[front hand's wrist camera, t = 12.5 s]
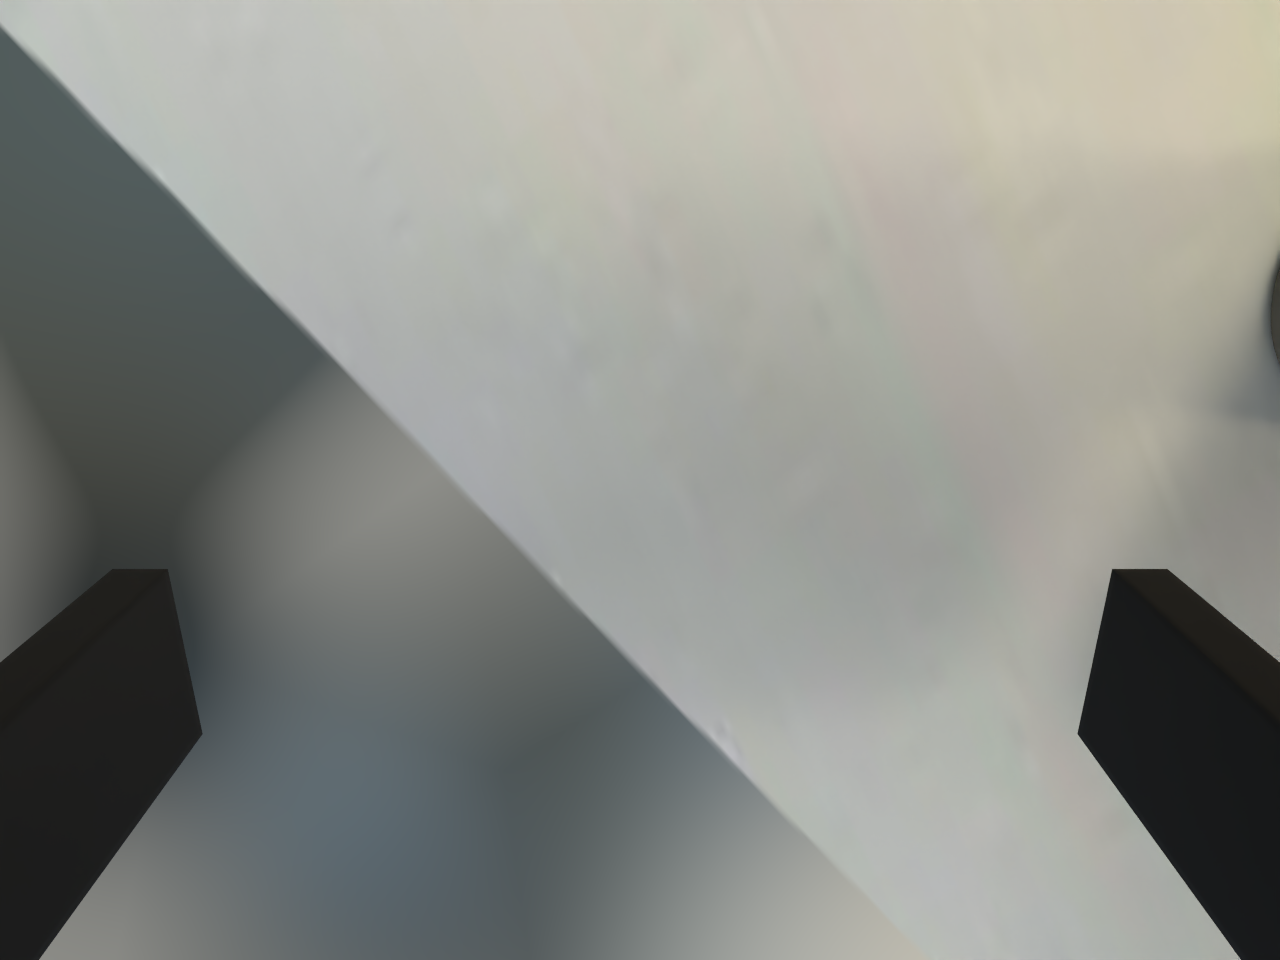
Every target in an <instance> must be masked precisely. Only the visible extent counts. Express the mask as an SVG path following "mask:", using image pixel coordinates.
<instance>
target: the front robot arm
mask: <svg viewBox="0 0 1280 960" xmlns="http://www.w3.org/2000/svg"><path fill="white" fill-rule="evenodd" d="M1271 328H1272V337H1273V343H1274V348H1275V352H1276V355H1277V358H1278V361H1279V363H1280V269H1279V272H1278V275H1277V279H1276V283H1275V288H1274V293H1273V300H1272V309H1271ZM201 735H202V730H201V725H200V720H199V715H198V711H197V706H196V701H195V696H194V692H193V687H192V682H191V677H190V673H189V668H188V663H187V658H186V654H185V649H184V644H183V640H182V635H181V630H180V625H179V621H178V616H177V611H176V607H175V602H174V597H173V592H172V587H171V583H170V578H169V573H168V569H112V570H111V571H110V572H108V573H107V574H106V575H105V576H104V577H103V578H101V579H100V580H99V581H98V582H96V583H95V584H94V585H93V586H92V587H90V588H89V589H88V590H87V591H86V592H84V593H83V594H82V595H81V596H80V597H78V598H77V599H76V600H75V601H74V602H72V603H71V604H70V605H69V606H68V607H66V608H65V609H64V610H63V611H62V612H60V613H59V614H58V615H57V616H56V617H54V618H53V619H52V620H51V621H50V622H48V623H47V624H46V625H45V626H44V627H42V628H41V629H40V630H39V631H38V632H36V633H35V634H34V635H33V636H32V637H30V638H29V639H28V640H27V641H26V642H24V643H23V644H22V645H21V646H20V647H18V648H17V649H16V650H15V651H14V652H12V653H11V654H10V655H9V656H8V657H6V658H5V659H4V660H3V661H2V662H0V960H39V959H40V957H41V956H42V955H43V953H44V952H45V951H46V949H47V948H48V946H49V945H50V944H51V942H52V941H53V940H54V938H55V937H56V935H57V934H58V933H59V931H60V930H61V928H62V927H63V926H64V924H65V923H66V921H67V920H68V919H69V917H70V916H71V915H72V913H73V912H74V911H75V909H76V908H77V906H78V905H79V904H80V902H81V901H82V900H83V898H84V897H85V895H86V894H87V893H88V891H89V890H90V888H91V887H92V886H93V884H94V883H95V882H96V880H97V879H98V877H99V876H100V875H101V873H102V872H103V871H104V869H105V868H106V866H107V865H108V864H109V862H110V861H111V859H112V858H113V857H114V855H115V854H116V853H117V851H118V850H119V848H120V847H121V846H122V844H123V843H124V842H125V840H126V839H127V837H128V836H129V835H130V833H131V832H132V830H133V829H134V828H135V826H136V825H137V824H138V822H139V821H140V819H141V818H142V817H143V815H144V814H145V813H146V811H147V810H148V808H149V807H150V806H151V804H152V803H153V801H154V800H155V799H156V797H157V796H158V795H159V793H160V792H161V790H162V789H163V788H164V786H165V785H166V784H167V782H168V781H169V779H170V778H171V777H172V775H173V774H174V773H175V771H176V770H177V768H178V767H179V766H180V764H181V763H182V761H183V760H184V759H185V757H186V756H187V755H188V753H189V752H190V750H191V749H192V748H193V746H194V745H195V744H196V742H197V741H198V739H199V738H200V737H201ZM1078 735H1079V737H1080V738H1081V739H1082V741H1083V742H1084V744H1085V745H1086V746H1087V748H1088V749H1089V750H1090V752H1091V753H1092V755H1093V756H1094V757H1095V759H1096V760H1097V761H1098V763H1099V764H1100V766H1101V767H1102V768H1103V770H1104V771H1105V773H1106V774H1107V775H1108V777H1109V778H1110V779H1111V781H1112V782H1113V784H1114V785H1115V786H1116V788H1117V789H1118V790H1119V792H1120V793H1121V795H1122V796H1123V797H1124V799H1125V800H1126V802H1127V803H1128V804H1129V806H1130V807H1131V808H1132V810H1133V811H1134V813H1135V814H1136V815H1137V817H1138V818H1139V819H1140V821H1141V822H1142V824H1143V825H1144V826H1145V828H1146V829H1147V830H1148V832H1149V833H1150V835H1151V836H1152V837H1153V839H1154V840H1155V842H1156V843H1157V844H1158V846H1159V847H1160V848H1161V850H1162V851H1163V853H1164V854H1165V855H1166V857H1167V858H1168V859H1169V861H1170V862H1171V864H1172V865H1173V866H1174V868H1175V869H1176V871H1177V872H1178V873H1179V875H1180V876H1181V877H1182V879H1183V880H1184V882H1185V883H1186V884H1187V886H1188V887H1189V888H1190V890H1191V891H1192V893H1193V894H1194V895H1195V897H1196V898H1197V900H1198V901H1199V902H1200V904H1201V905H1202V906H1203V908H1204V909H1205V911H1206V912H1207V913H1208V915H1209V916H1210V917H1211V919H1212V920H1213V922H1214V923H1215V924H1216V926H1217V927H1218V928H1219V930H1220V931H1221V933H1222V934H1223V935H1224V937H1225V938H1226V940H1227V941H1228V942H1229V944H1230V945H1231V946H1232V948H1233V949H1234V951H1235V952H1236V953H1237V955H1238V956H1239V957H1240V959H1241V960H1280V662H1278V661H1277V660H1276V659H1275V658H1274V657H1272V656H1271V655H1270V654H1269V653H1268V652H1266V651H1265V650H1264V649H1263V648H1262V647H1260V646H1259V645H1258V644H1257V643H1256V642H1254V641H1253V640H1252V639H1251V638H1250V637H1248V636H1247V635H1246V634H1245V633H1244V632H1242V631H1241V630H1240V629H1239V628H1238V627H1236V626H1235V625H1234V624H1233V623H1232V622H1230V621H1229V620H1228V619H1227V618H1226V617H1224V616H1223V615H1222V614H1221V613H1220V612H1218V611H1217V610H1216V609H1215V608H1214V607H1212V606H1211V605H1210V604H1209V603H1208V602H1206V601H1205V600H1204V599H1203V598H1202V597H1200V596H1199V595H1198V594H1197V593H1196V592H1194V591H1193V590H1192V589H1191V588H1190V587H1188V586H1187V585H1186V584H1185V583H1184V582H1182V581H1181V580H1180V579H1179V578H1178V577H1176V576H1175V575H1174V574H1173V573H1172V572H1170V571H1169V570H1168V569H1112V573H1111V578H1110V583H1109V587H1108V592H1107V597H1106V602H1105V606H1104V611H1103V616H1102V621H1101V625H1100V630H1099V635H1098V639H1097V644H1096V649H1095V654H1094V658H1093V663H1092V668H1091V673H1090V677H1089V682H1088V687H1087V692H1086V696H1085V701H1084V706H1083V710H1082V715H1081V720H1080V725H1079V729H1078Z"/></svg>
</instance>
